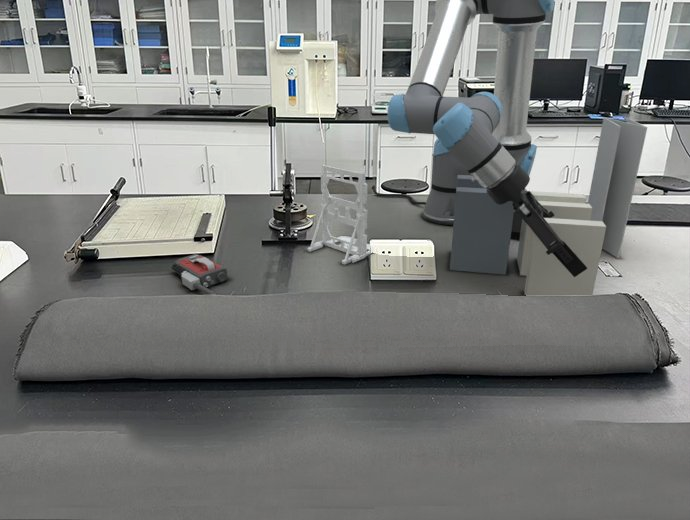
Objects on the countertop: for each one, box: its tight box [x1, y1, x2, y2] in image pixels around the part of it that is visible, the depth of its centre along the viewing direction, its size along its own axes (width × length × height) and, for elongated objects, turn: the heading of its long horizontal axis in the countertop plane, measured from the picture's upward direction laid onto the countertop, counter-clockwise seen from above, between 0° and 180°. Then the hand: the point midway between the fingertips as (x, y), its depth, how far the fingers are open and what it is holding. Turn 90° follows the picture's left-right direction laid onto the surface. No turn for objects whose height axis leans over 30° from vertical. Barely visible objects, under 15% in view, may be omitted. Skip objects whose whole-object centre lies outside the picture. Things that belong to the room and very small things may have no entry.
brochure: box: [587, 117, 648, 259], centre depth 125 cm, size 14×6×30 cm, turn 168°
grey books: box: [449, 175, 515, 276], centre depth 118 cm, size 10×12×19 cm
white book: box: [523, 218, 606, 296], centre depth 102 cm, size 3×12×16 cm, turn 78°
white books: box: [516, 190, 592, 277], centre depth 115 cm, size 9×12×16 cm
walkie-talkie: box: [170, 253, 228, 295], centre depth 111 cm, size 9×4×20 cm
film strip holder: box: [306, 164, 371, 266], centre depth 125 cm, size 14×14×20 cm
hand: (574, 258), depth 101 cm, fingers open, 12 cm apart
